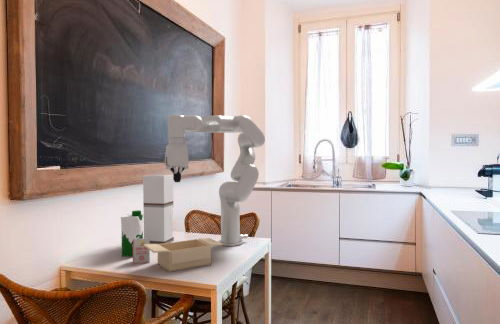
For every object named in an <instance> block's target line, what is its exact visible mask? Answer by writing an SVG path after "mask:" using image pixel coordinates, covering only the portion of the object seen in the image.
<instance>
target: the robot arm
mask: <svg viewBox="0 0 500 324" xmlns="http://www.w3.org/2000/svg"><path fill="white" fill-rule="evenodd" d="M167 119H168V121H167V122H168V124H167V125H168V127H167V128H168V130H167V131H168V135H167V136H168V144H167V145H166V147H165V153H164V154H165V155H164V165H165V170H169V171H170V172H171V173H172V175H173V183H181V180H182V173H183V172H184V171H185V170H188V169H189V163H190V162H189V152H188V151H189V150H188V145H186V144H188V142H189V140H188V139H186V133H208V134H209V133H210V134H211V133H218V134H219V133H221V134H222V133H223V134H224V133H226V134H227V133H230V134H231V133H234V134H236V133H239V134H238V137H237V144H238V146H239V152H240V153H239V156H238V158H237V160H236V162H235V164H234V166H233V167H232V170H231V171H230V178H231V179H232V180H233V181H225V182H223V183H222V184H221V185H220V186H219V189H218V196H219V200H220V201H219V202H220V239H219V240H218V241H217V242H220V243H222V244H223V245H222V246H223V247H224V246H225V247H235V246H237V247H238V246H241V245H243V244H244V240H243V239H248V238H249V235H248V234H244V233H243V234H242V233H240V232H241V231H240V230H241V228H240V226H241V225H240V224H241V223H240V220H241V219H240V217H241V215H240V212H241V211H240V210H241V208H240V204H239V203H242V202H245V201H247V200H248V198H249V197H250V196H251V193H252V192H253V189H254V188H255V185H256V184H257V181H258V179H259V174H260V172H259V169H258V167H257V166H255V165H254V163H255V160H256V152H255V149H254V148H260V147H262V146H263V145H264V144H265V142H266V138H265V134H264V132H263V131H262V130H261V128H260V127H258V125H257V124H256V123H255V121H253V119H252V118H251V117H249V116H247V115H245V114H241V115H220V114H219V115H217V114H216V115H206V116H198V115H194V114H191V115H182V114H171V115H169V116H168V118H167Z"/></svg>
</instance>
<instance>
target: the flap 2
mask: <svg viewBox="0 0 500 324" xmlns="http://www.w3.org/2000/svg"><path fill="white" fill-rule="evenodd" d="M198 240H200V241H202V242H204V243H207V244H209V245H211V247H216V246H217V247H218V246H223V244H222V243H220V242H218V241H217V240H214V239H213V238H210V237H206V238H205V237H204V238H198Z"/></svg>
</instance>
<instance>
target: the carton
mask: <svg viewBox="0 0 500 324" xmlns="http://www.w3.org/2000/svg"><path fill="white" fill-rule="evenodd" d="M198 239H199V238H198ZM198 239H197V238H196V239H187V240H181V241H173V242H171V243H164V244H158V245H159V246H161V247H163V248H164V249H166V250H168V252H159V253H157V264H158V265H159V264H160V265H159V266H160V267H162V268H163V267H164V269H165V270H166V271H168V272H169V273H172V272H177V271H181V270H187V269H189V270H190V269H193V268H194V269H195V268H199V267H206V266H209V265H210V266H211V265H212V246H211V245H209V244H207V243H204V242H202V241H200V240H198Z"/></svg>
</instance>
